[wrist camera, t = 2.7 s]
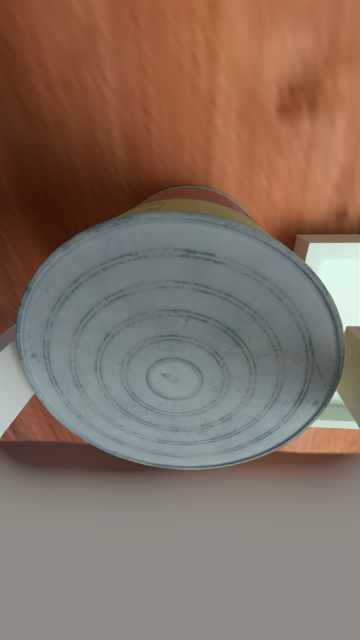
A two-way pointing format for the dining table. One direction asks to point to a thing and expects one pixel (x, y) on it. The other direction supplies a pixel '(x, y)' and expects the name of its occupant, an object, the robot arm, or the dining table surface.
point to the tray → (335, 297)
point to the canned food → (180, 335)
